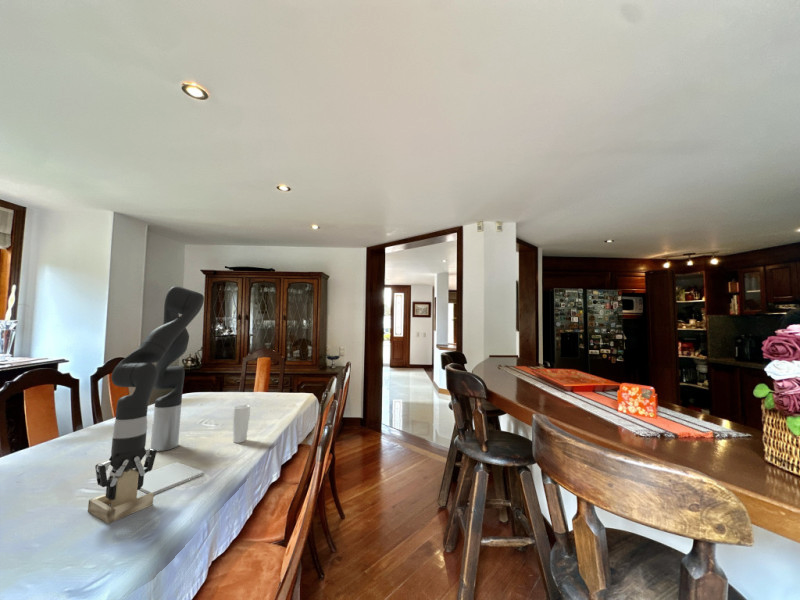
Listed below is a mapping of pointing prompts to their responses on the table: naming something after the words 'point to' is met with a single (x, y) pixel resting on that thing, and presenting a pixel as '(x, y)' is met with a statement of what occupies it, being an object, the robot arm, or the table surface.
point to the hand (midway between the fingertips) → (124, 493)
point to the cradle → (110, 514)
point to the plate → (168, 477)
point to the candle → (126, 487)
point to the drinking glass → (240, 423)
